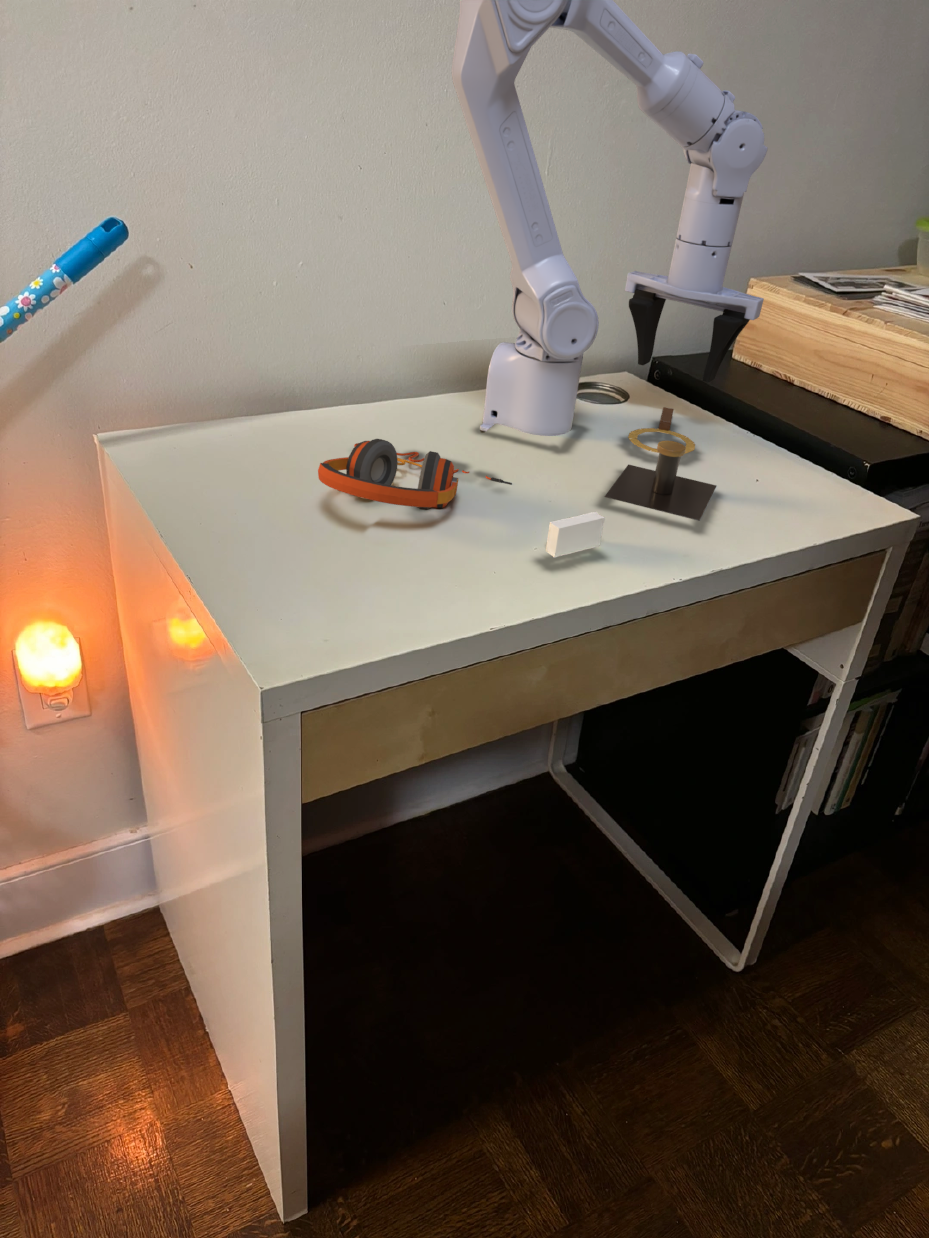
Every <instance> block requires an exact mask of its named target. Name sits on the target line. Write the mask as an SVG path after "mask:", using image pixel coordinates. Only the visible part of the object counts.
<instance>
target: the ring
mask: <svg viewBox="0 0 929 1238" xmlns="http://www.w3.org/2000/svg"><path fill="white" fill-rule="evenodd" d="M674 410H675V409H674V408H670V407H665V406H664V407H662V410H661V415H660V420H659V425H658V428H655V427H651V428H649V427H648V428H647V427H646V428H644V427H643V428H642V427H641V428H637V429H634V430H631V431H630V432H629V433H628V436H627V439H628V440H629V441H630V442H631V443H632V444H633V445H634V446H636V447H638V448H640V449H643V450H646V451H648V452H652V453H656V454H657V453H658V454H659V452H658V451H657V448H654V447H651V446H649V445H646V444H644V443H642V442H641V441H640V440H639V439H638V437H639V435H642V434H644V433H656V432H657V433H662V434H667V435H671V436H674V437H676V438H679V439H681V441H683V442H684V443H685V447H686V450H685V454H684V455H686V454H689V453H692V452H694V450H695V449H696V443H695V441H693V440H692V439H691V438H689V437H688V436H686V435H684V434H682V433H679V432H676V431H672V430H671V425H672V420H673V415H674Z"/></svg>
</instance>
